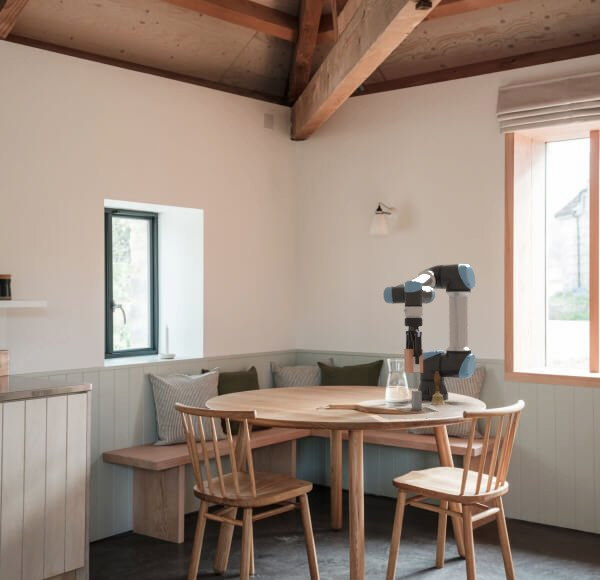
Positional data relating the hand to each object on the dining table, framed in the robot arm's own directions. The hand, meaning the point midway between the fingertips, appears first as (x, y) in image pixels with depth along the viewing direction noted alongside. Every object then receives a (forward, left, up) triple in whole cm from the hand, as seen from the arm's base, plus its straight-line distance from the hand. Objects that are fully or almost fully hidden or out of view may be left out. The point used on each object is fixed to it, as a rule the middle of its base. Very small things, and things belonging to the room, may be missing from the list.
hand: (413, 371), depth 336 cm
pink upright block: (0, 0, 0) cm, 0 cm away
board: (0, +2, -18) cm, 18 cm away
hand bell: (-16, -14, -18) cm, 28 cm away
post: (0, +2, -16) cm, 16 cm away
